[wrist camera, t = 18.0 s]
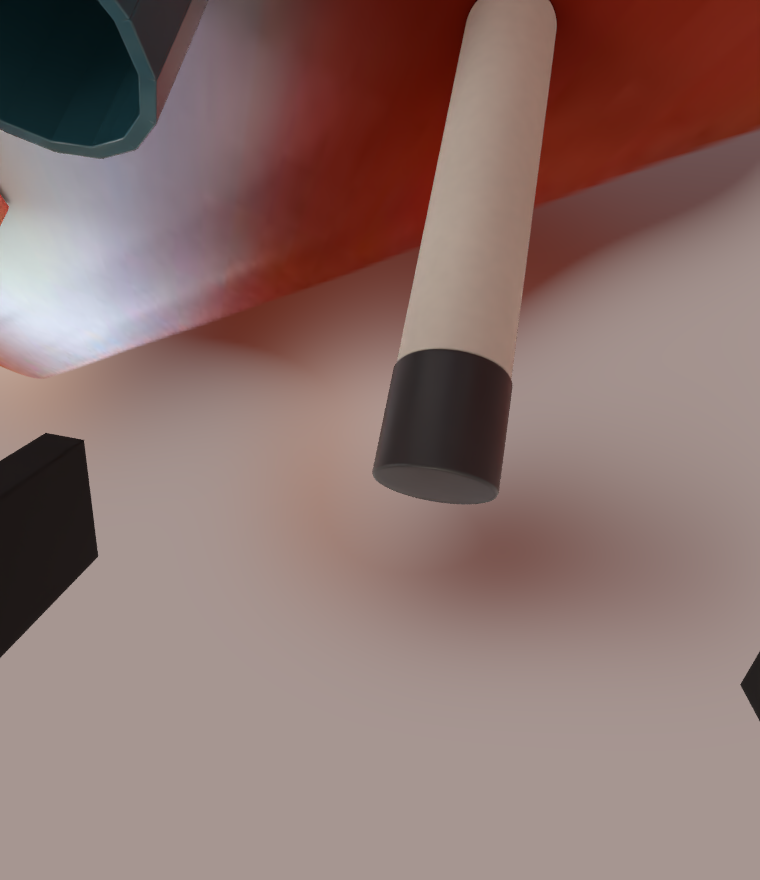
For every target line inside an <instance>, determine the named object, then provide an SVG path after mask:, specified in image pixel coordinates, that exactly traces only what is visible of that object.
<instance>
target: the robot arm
mask: <svg viewBox="0 0 760 880" xmlns="http://www.w3.org/2000/svg"><path fill="white" fill-rule="evenodd" d="M97 557H98V551H97V543H96V536H95V528H94V519H93V511H92V503H91V494H90V487H89V478H88V471H87V463H86V454H85V446H84V440H81V439H76V438H70V437H65V436H59V435H54V434H48V433H45V434H43V435H42V436H40V437H38V438H37V439H35V440H33V441H32V442H30V443H29V444H27V445H25V446H24V447H22V448H21V449H19V450H17V451H16V452H14V453H13V454H11V455H9V456H8V457H6V458H4V459H3V460H1V461H0V657H1V656H2V655H3V654H4V653H5V652H6V651H7V650H8V649H9V648H10V647H11V646H12V645H13V644H14V643H15V642H16V641H17V640H18V639H19V638H20V637H21V636H22V635H23V634H24V633H25V631H27V629H28V628H29V627H30V626H31V625H32V624H33V623H34V622H35V621H36V620H37V619H38V618H39V617H40V616H41V615H42V614H43V613H44V612H45V611H46V610H47V609H48V608H49V607H50V606H51V605H52V604H53V602H54V601H55V600H57V598H58V597H59V596H60V595H61V594H62V593H63V592H64V591H65V590H66V589H67V588H68V587H69V586H70V585H71V584H72V583H73V582H74V581H75V580H76V579H77V578H78V577H79V576H80V575H81V574H82V573H83V571H84V570H85V569H86V568H87V567H88V566H89V565H90V564H91V563H92V562H93V561H94V560H95V559H96V558H97ZM741 687H742V689H743V690H744V692H745V694H746V696H747V698H748V700H749V702H750V704H751V705H752V707H753V709H754V711H755V713H756V715H757V717H758V718H759V721H760V652H759V654H758V655H757V658H756V659H755V661H754V662H753V664H752V666H751V667H750V669H749V671H748V673H747V674H746V676H745V678H744V679H743V681H742V683H741Z"/></svg>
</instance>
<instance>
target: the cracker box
mask: <svg viewBox="0 0 760 880" xmlns="http://www.w3.org/2000/svg"><path fill="white" fill-rule="evenodd" d="M8 209H9V206H8V204H7V203H6V202H5V200H4V199H3V197H2V196H1V194H0V226H1V224H2V221H3V219H4V217H5V215H6V213H7V211H8Z"/></svg>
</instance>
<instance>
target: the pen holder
mask: <svg viewBox="0 0 760 880" xmlns="http://www.w3.org/2000/svg"><path fill="white" fill-rule="evenodd" d="M207 3H208V0H0V130H3V131H4V132H6V133H9V134H11V135H14V136H16V137H19V138H21V139H24V140H26V141H29V142H31V143H34V144H36V145H39V146H41V147H44V148H46V149H49V150H51V151H54V152H57V153H63V154H70V155H77V156H84V157H91V158H98V159H101V158H102V159H104V158H108V157H111V156H115V155H119V154H123V153H127V152H130V151H134V150H136V149H138V147H139V146H140V145H141V144H142V142H143V141H144V140H145V138H146V137H147V136H148V134H149V133H150V132H151V130H152V129H153V128H154V127H155V125H156V124H157V121H158V119H159V116H160V114H161V112H162V109H163V107H164V105H165V102H166V100H167V98H168V95H169V93H170V90H171V88H172V86H173V83H174V81H175V79H176V76H177V74H178V72H179V69H180V67H181V64H182V62H183V60H184V57H185V55H186V53H187V50H188V48H189V45H190V43H191V41H192V38H193V36H194V34H195V31H196V29H197V27H198V24H199V22H200V19H201V17H202V15H203V12H204V10H205V8H206V5H207Z"/></svg>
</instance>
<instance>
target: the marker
mask: <svg viewBox="0 0 760 880" xmlns="http://www.w3.org/2000/svg"><path fill="white" fill-rule="evenodd" d="M556 28H557V22H556V15H555V11H554V9H553V6H552V4H551V3H550V1H549V0H477V2H476V3H475V4H474V6H473V7H472V9H471V11H470V13H469V15H468V18H467V21H466V26H465V31H464V36H463V41H462V46H461V51H460V55H459V60H458V65H457V70H456V75H455V80H454V85H453V90H452V95H451V100H450V104H449V109H448V114H447V119H446V124H445V129H444V134H443V139H442V144H441V149H440V153H439V158H438V163H437V168H436V173H435V178H434V183H433V188H432V193H431V198H430V202H429V207H428V212H427V217H426V222H425V227H424V232H423V237H422V242H421V247H420V251H419V256H418V262H417V266H416V271H415V276H414V281H413V286H412V291H411V296H410V300H409V306H408V310H407V316H406V320H405V325H404V330H403V335H402V340H401V345H400V350H399V354H398V360H397V363H396V364H395V366H394V370H393V374H392V379H391V384H390V389H389V394H388V399H387V404H386V408H385V413H384V418H383V423H382V428H381V433H380V437H379V442H378V447H377V452H376V457H375V462H374V467H373V476H374V478H375V479H376V480H377V481H378V482H379V483H380V484H382V485H384V486H385V487H387V488H389V489H392V490H394V491H396V492H399V493H402V494H405V495H408V496H412V497H415V498H419V499H424V500H429V501H435V502H441V503H450V504H479V503H485V502H489V501H492V500H494V499H495V498H496V497H497V495H498V493H499V486H500V479H501V471H502V463H503V455H504V447H505V440H506V432H507V424H508V416H509V409H510V401H511V393H512V381H511V377H512V368H513V362H514V354H515V346H516V339H517V331H518V323H519V315H520V308H521V300H522V292H523V284H524V277H525V269H526V261H527V254H528V246H529V238H530V230H531V223H532V215H533V207H534V200H535V192H536V184H537V176H538V169H539V161H540V153H541V146H542V138H543V130H544V122H545V115H546V107H547V99H548V91H549V84H550V76H551V68H552V61H553V53H554V45H555V37H556Z"/></svg>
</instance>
